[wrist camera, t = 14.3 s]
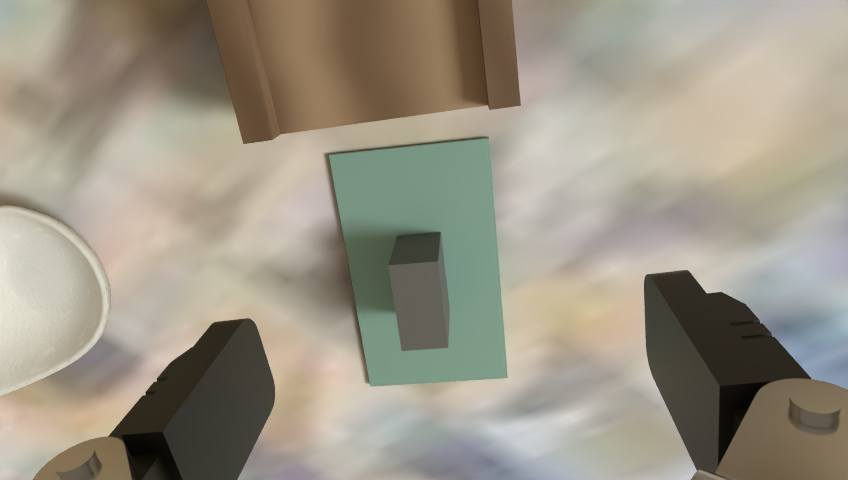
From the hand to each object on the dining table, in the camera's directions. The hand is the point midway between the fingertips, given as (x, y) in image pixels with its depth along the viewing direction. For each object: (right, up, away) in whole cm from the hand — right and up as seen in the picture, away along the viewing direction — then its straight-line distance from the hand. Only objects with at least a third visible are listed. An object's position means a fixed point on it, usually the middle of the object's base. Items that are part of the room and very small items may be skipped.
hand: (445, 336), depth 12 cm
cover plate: (0, 0, +30) cm, 29 cm away
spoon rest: (-32, -4, +33) cm, 46 cm away
